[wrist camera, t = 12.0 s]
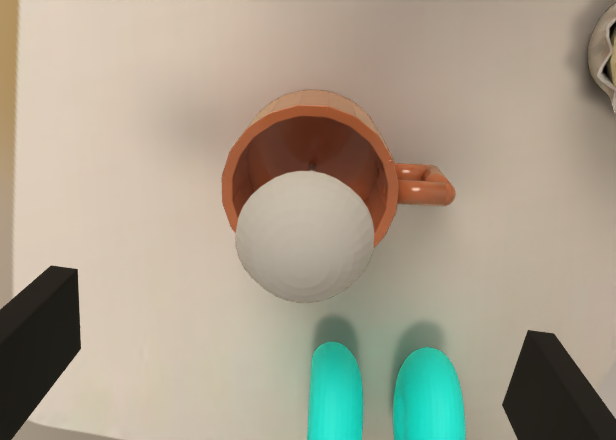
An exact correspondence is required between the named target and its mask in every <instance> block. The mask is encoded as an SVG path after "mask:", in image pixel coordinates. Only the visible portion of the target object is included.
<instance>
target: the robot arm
mask: <svg viewBox="0 0 616 440" xmlns="http://www.w3.org/2000/svg"><path fill="white" fill-rule="evenodd" d="M80 349H81V340H80V316H79V292H78V269H72V268H65V267H58V266H50V267H49V268H48V269H47V270H45V271H44V272H43V273H42V274H41V275H40V276H38V277H37V278H36V279H35V280H34V281H33V282H32V283H30V284H29V285H28V286H27V287H26V288H25V289H24V290H22V291H21V292H20V293H19V294H18V295H17V296H16V297H14V298H13V299H12V300H11V301H10V302H9V303H7V304H6V305H5V306H4V307H3V308H2V309H1V310H0V440H11V439H12V438H13V437H14V436H15V434H16V433H17V432H18V430H19V429H20V428H21V426H22V425H23V424H24V422H25V421H26V420H27V419H28V417H29V416H30V415H31V413H32V412H33V411H34V409H35V408H36V407H37V405H38V404H39V403H40V402H41V400H42V399H43V398H44V396H45V395H46V394H47V392H48V391H49V390H50V388H51V387H52V386H53V384H54V383H55V382H56V381H57V379H58V378H59V377H60V375H61V374H62V373H63V371H64V370H65V369H66V367H67V366H68V365H69V364H70V362H71V361H72V360H73V358H74V357H75V356H76V354H77V353H78V352H79V350H80ZM502 406H503V408H504V410H505V412H506V414H507V417H508V419H509V421H510V423H511V426H512V428H513V430H514V432H515V434H516V437H517V439H518V440H616V419H615V418H614V416H613V415H612V413H611V412H610V411H609V409H608V408H607V406H606V405H605V404H604V402H603V401H602V399H601V398H600V397H599V395H598V394H597V393H596V391H595V390H594V388H593V387H592V386H591V384H590V383H589V381H588V380H587V379H586V377H585V376H584V375H583V373H582V372H581V370H580V369H579V368H578V366H577V365H576V363H575V362H574V361H573V359H572V358H571V357H570V355H569V354H568V352H567V351H566V350H565V348H564V347H563V345H562V344H561V343H560V341H559V340H558V339H557V337H556V336H555V334H553V333H545V332H538V331H530V330H528V332H527V334H526V337H525V340H524V343H523V346H522V349H521V352H520V355H519V358H518V361H517V364H516V366H515V369H514V372H513V375H512V378H511V381H510V384H509V387H508V390H507V393H506V395H505V398H504V401H503V404H502Z"/></svg>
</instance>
